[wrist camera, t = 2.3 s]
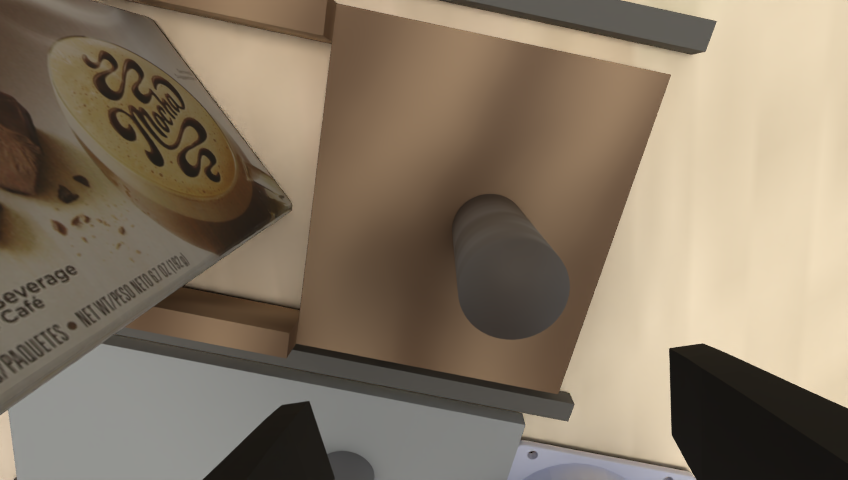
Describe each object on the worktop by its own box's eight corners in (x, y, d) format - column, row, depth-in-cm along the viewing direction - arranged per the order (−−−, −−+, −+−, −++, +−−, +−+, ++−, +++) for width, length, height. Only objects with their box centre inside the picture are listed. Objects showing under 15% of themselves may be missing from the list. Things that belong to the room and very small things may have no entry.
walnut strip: (659, 76, 16) (813, 52, 9) (553, 383, 20) (608, 515, 13) (-2, -65, 15) (-331, -195, 9) (31, 281, 19) (-175, 368, 13)
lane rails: (703, 25, 15) (716, 21, 15) (502, 577, 24) (504, 592, 23) (-59, -140, 15) (-87, -153, 14) (20, 489, 24) (5, 501, 23)
